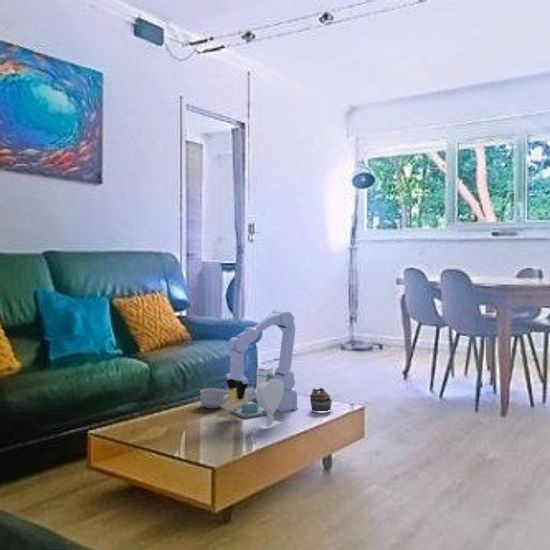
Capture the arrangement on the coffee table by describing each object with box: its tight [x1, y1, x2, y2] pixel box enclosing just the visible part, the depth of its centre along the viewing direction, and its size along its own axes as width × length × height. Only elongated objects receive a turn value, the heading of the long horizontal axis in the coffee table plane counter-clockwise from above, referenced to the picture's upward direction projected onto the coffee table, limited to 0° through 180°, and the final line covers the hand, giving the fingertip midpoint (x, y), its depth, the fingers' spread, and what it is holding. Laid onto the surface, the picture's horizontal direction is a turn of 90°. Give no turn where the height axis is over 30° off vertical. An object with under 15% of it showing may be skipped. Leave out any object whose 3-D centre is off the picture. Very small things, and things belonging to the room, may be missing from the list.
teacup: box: [199, 387, 229, 409], centre depth 277 cm, size 14×11×8 cm
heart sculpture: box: [255, 379, 284, 427], centre depth 250 cm, size 16×5×18 cm, turn 148°
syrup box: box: [256, 365, 274, 387], centre depth 298 cm, size 6×6×14 cm
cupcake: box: [309, 387, 333, 411], centre depth 272 cm, size 10×10×10 cm
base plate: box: [230, 401, 267, 420], centre depth 267 cm, size 12×12×5 cm
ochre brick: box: [228, 388, 246, 404], centre depth 261 cm, size 5×5×5 cm
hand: (237, 397), depth 261 cm, fingers closed on ochre brick, 5 cm apart
